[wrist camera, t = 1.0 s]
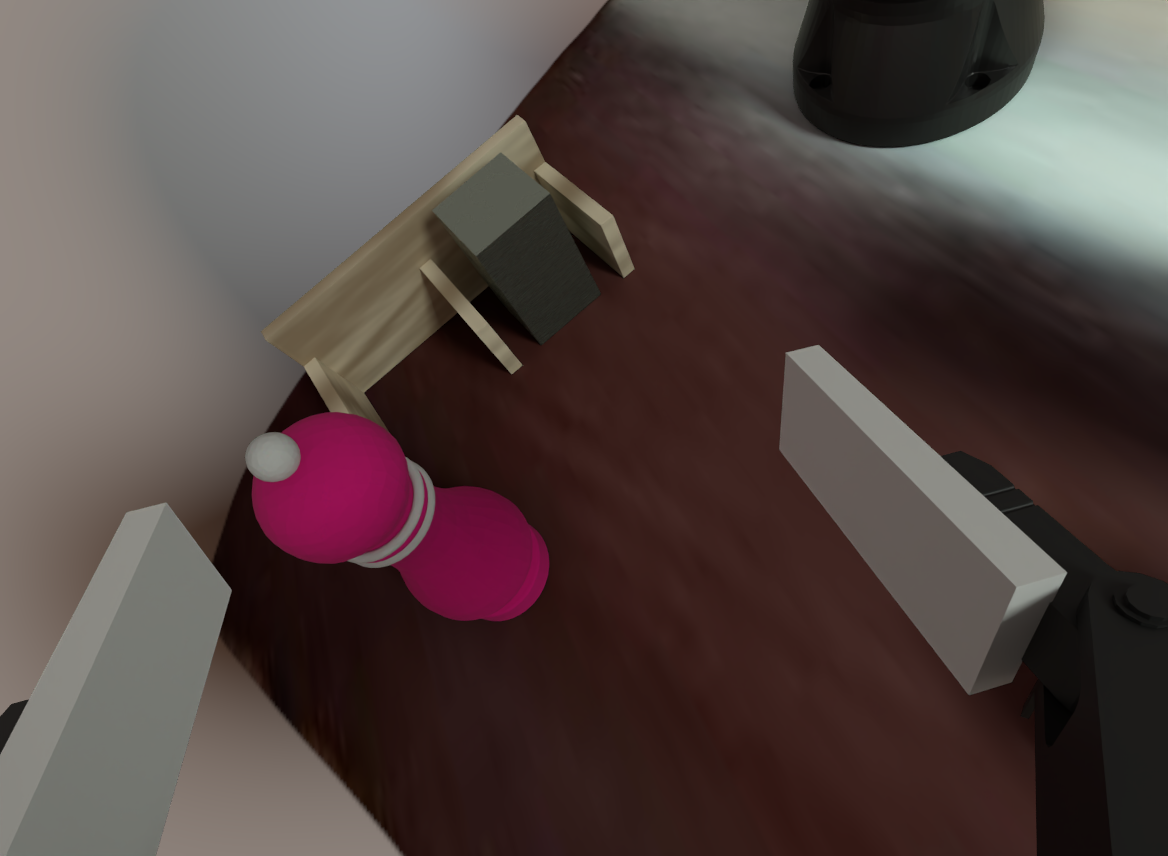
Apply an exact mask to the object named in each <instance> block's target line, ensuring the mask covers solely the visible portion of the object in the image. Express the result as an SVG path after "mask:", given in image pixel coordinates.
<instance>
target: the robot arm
mask: <svg viewBox="0 0 1168 856" xmlns="http://www.w3.org/2000/svg"><path fill="white" fill-rule="evenodd" d="M1043 29H1044V4H1043V0H809V3H808V6H807V9H806V13H805V16H804V19H803V22H802V25H801V28H800V32H799V35H798V38H797V41H796V44H795V49H794V56H793V84H794V94H795V98H796V101H797V104H798V106H799V108H800V110H801V111H802V113H803V114H804V115H805V117H806V118H807V119H808V120H809V121H810V122H811V123H812V124H814V125H815V126H816V127H818V128H819V129H820V130H822V131H824V132H825V133H827V134H829V135H831V136H834V137H836V138H839V139H842V140H845V141H848V142H852V143H857V144H862V145H870V146H906V145H914V144H921V143H926V142H931V141H935V140H939V139H942V138H945V137H948V136H951V135H954V134H957V133H959V132H962V131H964V130H967V129H969V128H971V127H973V126H975V125H977V124H979V123H980V122H982V121H984V120H986V119H987V118H989V117H990V116H992V115H993V114H995V113H996V112H997V111H999V110H1000V109H1001V108H1003V107H1004V106H1005V105H1006V104H1007V103H1008V102H1009V101H1010V100H1011V99H1012V98H1013V97H1014V96H1015V95H1016V94H1017V93H1018V92H1019V90H1020V89H1021V88H1022V86H1023V85H1024V83H1025V82H1026V80H1027V78H1028V76H1029V75H1030V72H1031V70H1032V67H1033V64H1034V61H1035V58H1036V55H1037V52H1038V49H1039V46H1040V43H1041V39H1042V35H1043ZM779 450H780V451H781V452H782V454H783V455H784V456H785V458H786V459H787V460H788V461H789V463H790V464H791V465H792V467H793V468H794V469H795V470H796V472H797V473H798V474H799V476H800V477H801V478H802V480H803V481H804V482H805V483H806V485H807V486H808V487H809V489H810V490H811V491H812V493H813V494H814V495H815V496H816V498H817V499H818V500H819V502H820V503H821V504H822V505H823V507H824V508H825V509H826V511H827V512H828V513H829V515H830V516H831V517H832V518H833V520H834V521H835V522H836V524H837V525H838V526H839V528H840V529H841V530H842V531H843V533H844V534H845V535H846V537H847V538H848V539H849V540H850V542H851V543H852V544H853V546H854V547H855V548H856V550H857V551H858V552H859V553H860V555H861V556H862V557H863V559H864V560H865V561H866V563H867V564H868V565H869V566H870V568H871V569H872V570H873V572H874V573H875V574H876V575H877V577H878V578H879V579H880V581H881V582H882V583H883V585H884V586H885V587H886V588H887V590H888V591H889V592H890V594H891V595H892V596H893V597H894V599H895V600H896V601H897V603H898V604H899V605H900V607H901V608H902V609H903V610H904V612H905V613H906V614H907V616H908V617H909V618H910V620H911V621H912V622H913V623H914V625H915V626H916V627H917V629H918V630H919V631H920V632H921V634H922V635H923V636H924V638H925V639H926V640H927V642H928V643H929V644H930V645H931V647H932V648H933V649H934V651H935V652H936V653H937V655H938V656H939V657H940V658H941V660H942V661H943V662H944V664H945V665H946V666H947V667H948V669H949V670H950V671H951V673H952V674H953V675H954V677H955V678H956V679H957V680H958V682H959V683H960V684H961V686H962V687H963V688H964V689H965V691H966V692H967V693H968V695H972V694H975V693H978V692H982V691H985V690H988V689H991V688H995V687H998V686H1001V685H1005V684H1008V683H1011V682H1012V681H1013V679H1014V677H1015V675H1016V673H1017V671H1018V669H1019V667H1020V665H1021V663H1022V661H1023V662H1024V663H1025V664H1026V665H1027V666H1028V667H1029V669H1030V670H1031V671H1032V672H1033V673H1034V674H1035V675H1036V676H1037V678H1038V680H1037V682H1036V684H1035V685H1034V687H1033V689H1032V691H1031V693H1030V695H1029V696H1028V698H1027V700H1026V702H1025V704H1024V706H1023V710H1022V713H1021V717H1024V718H1027V719H1029V717H1030V716H1031V714H1032V712H1033V710H1034V709H1035V767H1036V829H1037V856H1168V584H1167V583H1165V582H1163V581H1161V580H1158V579H1155V578H1152V577H1149V576H1146V575H1143V574H1140V573H1132V572H1123V571H1116V570H1114V569H1113V568H1112V567H1110V566H1109V565H1107V564H1106V563H1105V562H1104V561H1103V560H1102V559H1100V558H1099V557H1098V556H1097V555H1096V554H1094V553H1093V552H1092V551H1091V550H1090V549H1089V548H1087V547H1086V546H1085V545H1084V544H1083V543H1082V542H1080V541H1079V540H1078V539H1077V538H1076V537H1075V536H1073V535H1072V534H1071V533H1070V532H1069V531H1067V530H1066V529H1065V528H1064V527H1063V526H1062V525H1060V524H1059V523H1058V522H1057V521H1056V520H1055V519H1053V518H1052V517H1051V516H1050V515H1049V514H1048V513H1046V512H1045V511H1044V510H1043V509H1042V508H1040V507H1039V506H1038V505H1037V506H1035V505H1034V504H1033V501H1032V500H1031V499H1030V498H1029V497H1028V496H1026V495H1025V494H1024V493H1023V492H1022V491H1021V490H1019V489H1015V488H1014V485H1013V484H1012V483H1011V482H1010V481H1009V480H1008V479H1006V478H1005V477H1004V476H1003V475H1002V474H1001V473H999V472H998V471H997V470H996V469H995V468H994V467H992V466H991V465H989V464H987V463H985V462H983V461H981V460H979V459H977V458H975V457H972V456H970V455H968V454H966V453H964V452H962V451H958V452H955V453H951V454H947V455H943V456H939V455H938V454H937V453H936V452H935V451H934V450H933V449H932V448H931V447H930V446H928V445H927V444H926V443H925V442H924V441H923V440H922V439H921V438H920V437H919V436H918V435H916V434H915V433H914V432H913V431H912V430H911V429H910V428H909V427H908V426H907V425H906V424H904V423H903V422H902V421H901V420H900V419H899V418H898V417H897V416H896V415H895V414H894V413H892V412H891V411H890V410H889V409H888V408H887V407H886V406H885V405H884V404H883V403H882V402H880V401H879V400H878V399H877V398H876V397H875V396H874V395H873V394H872V393H871V392H870V391H868V390H867V389H866V388H865V387H864V386H863V385H862V384H861V383H860V382H859V381H858V380H856V379H855V378H854V377H853V376H852V375H851V374H850V373H849V372H848V371H847V370H846V369H844V368H843V367H842V366H841V365H840V364H839V363H838V362H837V361H836V360H835V359H833V358H832V357H831V356H830V355H829V354H828V353H827V352H826V351H825V350H824V349H823V348H821V347H820V346H819V345H816V346H812V347H808V348H804V349H800V350H795V351H791V352H787V353H786V359H785V374H784V388H783V403H782V417H781V432H780V446H779ZM231 591H232V590H231V588H230V587H229V586H228V584H227V583H226V582H225V580H224V579H223V578H222V576H221V575H220V574H219V572H218V571H217V570H216V568H215V567H214V566H213V564H212V563H211V562H210V560H209V559H208V558H207V556H206V555H205V553H204V552H203V551H202V550H201V548H200V547H199V546H198V544H197V543H196V541H195V540H194V539H193V538H192V536H191V535H190V533H189V532H188V531H187V529H186V528H185V527H184V525H183V524H182V523H181V521H180V520H179V519H178V517H177V516H176V515H175V513H174V512H173V511H172V509H171V508H170V507H169V505H168V504H167V503H162V504H158V505H154V506H150V507H146V508H142V509H138V510H134V511H130V512H127V513H126V514H125V516H124V518H123V520H122V522H121V524H120V526H119V528H118V530H117V532H116V534H115V535H114V538H113V539H112V541H111V543H110V545H109V547H108V549H107V551H106V553H105V555H104V557H103V558H102V561H101V562H100V564H99V566H98V568H97V570H96V572H95V574H94V576H93V578H92V580H91V582H90V583H89V585H88V588H87V589H86V591H85V593H84V595H83V597H82V599H81V601H80V603H79V605H78V606H77V609H76V610H75V612H74V614H73V616H72V618H71V620H70V622H69V624H68V626H67V628H66V629H65V632H64V633H63V635H62V637H61V639H60V641H59V643H58V645H57V647H56V649H55V651H54V653H53V654H52V656H51V658H50V660H49V662H48V664H47V666H46V668H45V670H44V672H43V674H42V676H41V678H40V680H39V681H38V683H37V685H36V687H35V689H34V691H33V693H32V695H31V697H30V699H29V700H25V701H21V702H18V703H14V704H11V705H10V706H9V707H8V709H7V710H6V711H5V712H4V713H3V714H2V715H1V716H0V856H156V854H157V850H158V847H159V843H160V840H161V836H162V832H163V829H164V826H165V822H166V818H167V815H168V812H169V808H170V804H171V801H172V798H173V794H174V791H175V787H176V784H177V780H178V777H179V773H180V770H181V766H182V763H183V759H184V755H185V752H186V748H187V745H188V742H189V738H190V735H191V731H192V728H193V724H194V720H195V717H196V713H197V710H198V707H199V703H200V700H201V696H202V692H203V689H204V685H205V682H206V679H207V675H208V671H209V668H210V665H211V661H212V657H213V654H214V650H215V647H216V644H217V640H218V637H219V633H220V630H221V626H222V623H223V619H224V616H225V612H226V609H227V605H228V602H229V598H230V595H231Z"/></svg>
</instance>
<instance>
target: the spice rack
mask: <svg viewBox="0 0 1168 856" xmlns="http://www.w3.org/2000/svg"><path fill="white" fill-rule="evenodd" d="M500 152H501V153H502V154H503V155H505V156H506V157H507V158H508V159H509V160H511V161H512V162H513V163H514V164H515V165H517V166H518V167H519V168H520V169H521V170H523V171H524V172H525V173H526V174H528V175H529V176H530V177H531V178H532V179H534V180H535V181H536V182H537V183H538V184H540V185H541V186H542V187H543V188H544V189H546V190H547V191H548V192H549V193H550V194H551V196H552V198H553V200H554V202H555V204H556V206H557V208H558V210H559V212H560V214H561V216H562V218H563V220H564V222H565V224H566V226H567V228H568V230H569V231H570V232H571V233H572V234H573V235H575V236H576V237H577V238H578V239H579V240H580V241H582V242H583V243H584V244H585V245H586V246H587V247H588V248H590V249H591V250H592V251H593V252H594V253H595V254H597V255H598V256H599V257H600V258H601V259H602V260H604V261H605V262H606V263H607V264H608V265H609V266H611V267H612V268H613V269H614V270H615V271H616V272H617V273H619V274H620V275H621V276H622V277H623V278H624V277H626V276H627V275H628V274H629V273H630V272H631V271H633V270H634V266H633V264H632V261H631V259H630V256H629V254H628V251H627V249H626V246H625V244H624V242H623V239H622V237H621V234H620V232H619V229H618V227H617V224H616V222H615V219H614V217H613V215H612V214H610V213H609V212H608V211H607V210H605V209H604V208H603V207H602V206H600V205H599V204H598V203H596V202H595V201H594V200H593V199H591V198H590V197H589V196H588V195H586V194H585V193H584V192H583V191H581V190H580V189H579V188H577V187H576V186H575V185H574V184H572V183H571V182H570V181H569V180H567V179H566V178H565V177H564V176H562V175H561V174H560V173H558V172H557V171H556V170H555V169H553V168H552V167H551V166H550V165H548V164H547V163H546V162H545V161H544V159H543V157H542V155H541V153H540V151H539V149H538V147H537V144H536V142H535V140H534V138H533V136H532V134H531V132H530V130H529V128H528V126H527V124H526V122H525V121H524V120H523V119H522V118H521V117H519V116H518V115H516V116H515V117H514V118H513V119H512V120H511V121H509V122H508V123H507V124H506V125H505V126H503V127H502V128H501V129H500V130H499V131H498V132H496V133H495V134H494V135H493V136H492V137H490V138H489V139H488V140H487V141H486V142H485V143H483V144H482V145H481V146H480V147H479V148H477V149H476V150H475V151H474V152H473V153H472V154H470V155H469V156H468V157H467V158H466V159H464V160H463V161H462V162H461V163H460V164H459V165H457V166H456V167H455V168H454V169H453V170H452V171H451V172H449V173H448V174H447V175H446V176H444V177H443V178H442V179H441V180H440V181H439V182H437V183H436V184H435V185H434V186H433V187H431V188H430V189H429V190H428V191H427V192H425V193H424V194H423V195H422V196H421V197H420V198H418V199H417V200H416V201H415V202H414V203H413V204H411V205H410V206H409V207H408V208H407V209H405V210H404V211H403V212H402V213H401V214H399V215H398V217H396V218H395V219H394V220H392V221H391V222H390V223H389V224H388V225H386V226H385V227H384V228H383V229H382V230H381V231H379V232H378V233H377V234H376V235H375V236H373V237H372V238H371V239H370V240H369V241H368V242H366V243H365V244H364V245H363V246H362V247H360V248H359V249H358V250H357V251H356V252H355V253H353V254H352V255H351V256H350V257H349V258H348V259H346V260H345V261H344V262H343V263H341V264H340V265H339V266H338V267H337V268H336V269H334V270H333V271H332V272H331V273H330V274H328V275H327V276H326V277H325V278H324V279H323V280H321V281H320V282H319V283H318V284H317V285H315V286H314V287H313V288H312V289H311V290H310V291H308V292H307V293H306V294H305V295H304V296H303V297H301V298H300V299H299V300H298V301H297V302H295V303H294V304H293V305H292V306H291V307H289V308H288V309H287V310H286V311H285V312H284V313H282V314H281V315H280V316H279V317H278V318H277V319H275V320H274V321H273V322H272V323H271V324H269V325H268V326H267V327H266V328H265V329H263V330H262V331H261V332H262V334H263V336H264V338H265V339H266V341H268V342H269V343H270V344H272V345H273V346H275V347H276V348H278V349H279V350H281V351H282V352H284V353H285V354H287V355H288V356H289V357H291V358H292V359H294V360H295V361H296V362H298V363H299V364H301V365H302V366H304V368H305V370H306V371H307V373H308V375H309V376H310V378H311V380H312V381H313V383H314V385H315V387H316V388H317V390H318V392H319V393H320V395H321V397H322V398H323V400H324V402H325V404H326V405H327V407H328V409H329V410H330V412H341V413H348V414H355V415H358V416H361V417H364V418H366V419H369V420H371V421H373V422H374V423H376V424H378V425H379V426H381V427H383V428H384V429H385V430H386V431H388V429H387V428H386V426H385V425H384V423H383V422H382V420H381V419H380V417H379V415H378V414H377V412H376V411H375V409H374V408H373V406H372V405H371V403H370V402H369V400H368V398H367V397H366V395H365V394H364V392H365V391H366V390H368V389H369V388H370V387H371V386H372V385H373V384H375V383H376V382H377V381H378V380H379V379H380V378H382V377H383V376H384V375H385V374H386V373H387V372H389V371H390V370H391V369H392V368H393V367H394V366H396V365H397V364H398V363H399V362H400V361H402V360H403V359H404V358H405V357H406V356H407V355H409V354H410V353H411V352H412V351H413V350H414V349H416V348H417V347H418V346H419V345H420V344H421V343H423V342H424V341H425V340H426V339H427V338H428V337H430V336H431V335H432V334H433V333H434V332H435V331H437V330H438V329H439V328H440V327H441V326H443V325H444V324H445V323H446V322H447V321H448V320H450V319H451V318H452V317H453V316H454V315H455V314H457V313H459V315H460V316H461V317H462V318H463V319H464V320H465V321H466V323H467V324H468V325H469V326H470V327H471V328H472V330H473V331H474V332H475V333H476V334H477V335H478V337H479V338H480V339H481V340H482V341H483V342H484V343H485V345H486V346H487V347H488V348H489V349H490V350H491V351H492V353H493V354H494V355H495V356H496V357H497V358H498V359H499V360H500V362H501V363H502V364H503V365H504V366H505V367H506V368H507V370H508V371H509V372H510V373H511V374H513V373H514V372H515V371H516V370H517V369H519V368H520V367H521V366H522V364H521V363H520V362H519V360H518V359H517V358H516V357H515V356H514V354H513V353H512V352H511V351H510V349H509V348H508V347H507V346H506V345H505V343H504V342H503V341H502V340H501V339H500V337H499V336H498V335H497V334H496V332H495V331H494V330H493V329H492V328H491V326H490V325H489V324H488V323H487V322H486V321H485V319H484V318H483V317H482V316H481V315H480V314H479V313H478V312H477V310H476V309H475V308H474V307H473V306H472V305H471V304H470V303H469V302H471V301H472V300H473V299H474V298H475V297H476V296H478V295H479V294H480V293H481V292H482V291H484V290H485V289H486V288H487V287H488V284H487V283H486V282H485V280H484V279H483V278H482V276H481V275H480V274H479V272H478V271H477V270H476V268H475V267H474V266H473V264H472V263H471V262H470V260H469V259H468V258H467V256H466V255H465V254H464V252H463V251H462V250H461V248H460V247H459V246H458V244H457V243H456V242H455V240H454V239H453V238H452V236H451V235H450V234H449V233H448V231H447V230H446V229H445V227H444V226H443V225H442V223H441V222H440V221H439V219H438V218H437V217H436V215H435V214H434V213H433V211H432V210H433V209H434V208H435V207H437V206H438V205H439V204H440V203H441V202H443V201H444V200H445V199H446V198H447V197H448V196H450V195H451V194H452V193H453V192H454V191H456V190H457V189H458V188H459V187H460V186H461V185H463V184H464V183H465V182H466V181H467V180H469V179H470V178H471V177H472V176H473V175H474V174H476V173H477V172H478V171H479V170H480V169H482V168H483V167H484V166H485V165H486V164H487V163H489V162H490V161H491V160H492V159H493V158H495V157H496V156H497V155H498V154H499V153H500ZM388 432H389V431H388ZM389 433H390V432H389Z"/></svg>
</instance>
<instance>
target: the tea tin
mask: <svg viewBox="0 0 1168 856" xmlns="http://www.w3.org/2000/svg"><path fill="white" fill-rule="evenodd" d="M432 211H433V213H434V214H435V215H436V217H437V218H438V219H439V221H440V222H441V223H442V225H443V226H444V227H445V229H446V230H447V231H448V233H449V234H450V235H451V236H452V238H453V239H454V240H455V242H456V243H457V244H458V246H459V247H460V248H461V250H462V251H463V252H464V254H465V255H466V256H467V258H468V259H469V260H470V262H471V263H472V264H473V266H474V267H475V268H476V270H477V271H478V272H479V274H480V275H481V276H482V278H483V279H484V280H485V282H486V283H487V284H488V286H489V287H490V288H491V290H492V291H493V292H494V294H495V295H496V296H497V298H498V299H499V300H500V302H501V303H502V304H503V305H504V306H505V307H506V308H507V309H508V310H509V311H510V313H511V314H512V315H513V316H514V317H515V318H516V319H517V320H518V321H519V322H520V323H521V324H522V325H523V326H524V327H525V329H526V330H527V331H528V332H529V333H530V334H531V335H532V336H533V337H534V338H535V339H536V340H537V341H538V342H539V343H540V345H542V344H543V343H545V342H546V341H547V340H548V339H549V338H550V337H552V336H553V335H554V334H555V333H556V332H557V331H559V330H560V329H561V328H562V327H563V326H564V325H566V324H567V323H568V322H569V321H570V320H571V319H573V318H574V317H575V316H576V315H577V314H578V313H580V312H581V311H582V310H583V309H584V308H585V307H587V306H588V305H589V304H590V303H591V302H592V301H594V300H595V299H596V298H597V297H598V296H599V295H600V294H601V293H600V291H599V289H598V287H597V285H596V283H595V281H594V279H593V277H592V275H591V273H590V271H589V270H588V268H587V266H586V264H585V262H584V260H583V258H582V256H581V254H580V252H579V250H578V248H577V246H576V244H575V242H574V240H573V238H572V236H571V234H570V232H569V230H568V228H567V226H566V224H565V222H564V220H563V218H562V216H561V214H560V212H559V210H558V208H557V206H556V204H555V202H554V200H553V198H552V196H551V194H550V193H549V192H548V191H547V190H546V189H544V188H543V187H542V186H541V185H540V184H538V183H537V182H536V181H535V180H534V179H532V178H531V177H530V176H529V175H528V174H526V173H525V172H524V171H523V170H521V169H520V168H519V167H518V166H517V165H515V164H514V163H513V162H512V161H511V160H509V159H508V158H507V157H506V156H505V155H503V154H502V153H501V152H500V153H499V154H498V155H497V156H496V157H495V158H493V159H492V160H491V161H490V162H489V163H487V164H486V165H485V166H484V167H483V168H482V169H480V170H479V171H478V172H477V173H476V174H474V175H473V176H472V177H471V178H470V179H469V180H467V181H466V182H465V183H464V184H463V185H461V186H460V187H459V188H458V189H457V190H456V191H454V192H453V193H452V194H451V195H450V196H448V197H447V198H446V199H445V200H444V201H443V202H441V203H440V204H439V205H438V206H437V207H435V208H434V209H433V210H432Z"/></svg>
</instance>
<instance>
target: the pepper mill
mask: <svg viewBox="0 0 1168 856" xmlns="http://www.w3.org/2000/svg"><path fill="white" fill-rule="evenodd" d="M245 459H246V465H247V467H248V469H249V470H250V472H251V473H252V474H253V475H254V477H253V486H252V502H253V508H254V512H255V516H256V519H257V521H258V523H259V524H260V526H261V528H262V530H263V531H264V533H265V535H266V536H267V537H268V538H269V539H270V540H271V541H272V542H273V543H274V544H275V545H277V546H278V547H279V548H281V549H282V550H283V551H285V552H287V553H289V554H291V555H293V556H295V557H297V558H300V559H302V560H305V561H310V562H315V563H330V564H334V563H340V562H345V561H349V562H353V563H356V564H358V565H361V566H364V567H369V568H380V567H385V566H389V565H391V566H393V567H395V568H396V569H398V570H399V571H400V573H401V575H402V577H403V579H404V581H405V583H406V585H407V587H408V589H409V591H410V592H411V593H412V594H413V595H414V597H415V598H416V599H417V600H418V601H419V602H420V603H421V604H422V605H424V606H425V607H426V608H428V609H429V610H431V611H433V612H435V613H437V614H439V615H442V616H444V617H446V618H450V619H453V620H462V621H468V620H477V619H480V618H481V619H485V620H489V621H504V620H509V619H512V618H514V617H516V616H518V615H520V614H522V613H523V612H525V611H526V610H527V609H528V608H529V607H531V606H532V605H533V604H534V603H535V601H536V600H537V598H538V597H539V596H540V594H541V592H542V590H543V589H544V586H545V583H546V580H547V577H548V571H549V555H548V551H547V547H546V544H545V542H544V540H543V538H542V537H541V535H540V534H539V533H538V531H537V530H535V529H534V528H533V527H532V526H531V525H529V524H528V523H527V521H526V519H525V517H524V516H523V514H522V513H521V511H520V510H519V509H518V508H517V506H515V505H514V504H513V503H512V502H511V501H510V500H508V499H506V498H505V497H503V496H501V495H499V494H497V493H495V492H493V491H491V490H487V489H484V488H480V487H472V486H459V487H453V488H446V489H444V488H438V487H434V486H433V484H432V481H431V479H430V477H429V476H428V474H427V473H426V472H425V470H424V469H423V468H422V467H420V466H419V465H418V464H416V463H414V462H412V461H411V460H409V459H408V458H407V457H405V455H404V453H403V451H402V449H401V447H400V445H399V444H398V442H397V440H396V439H395V438H394V437H393V436H392V435H391V434H390V433H389V432H388V431H386V430H385V429H384V428H383V427H381V426H379V425H378V424H376V423H374V422H373V421H371V420H369V419H366V418H364V417H361V416H358V415H355V414H348V413H341V412H326V413H321V414H317V415H312V416H310V417H307V418H305V419H302V420H300V421H298V422H296V423H295V424H293V425H291V426H290V427H288V428H287V429H285V430H284V431H283V432H282V433H278V432H270V433H265V434H262V435H260V436H258V437H256V438H255V439H254V440H253V441H252V442H251V443H250V444H249V446H248V448H247V450H246V455H245Z"/></svg>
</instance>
